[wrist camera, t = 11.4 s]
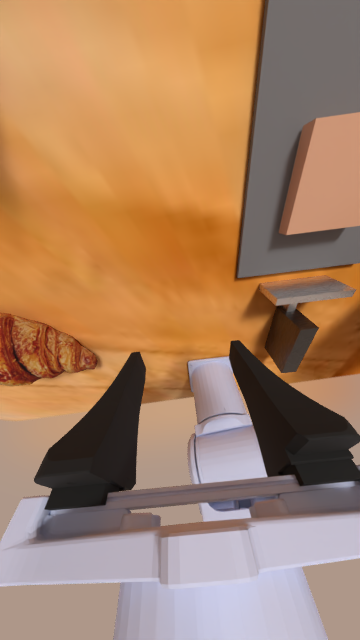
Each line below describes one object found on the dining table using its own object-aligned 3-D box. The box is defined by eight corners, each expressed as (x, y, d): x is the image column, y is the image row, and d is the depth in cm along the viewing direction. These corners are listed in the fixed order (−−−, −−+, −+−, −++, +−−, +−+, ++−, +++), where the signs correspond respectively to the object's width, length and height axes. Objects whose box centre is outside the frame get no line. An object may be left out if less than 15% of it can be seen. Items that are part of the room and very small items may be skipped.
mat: (356, 261, 19) (360, 263, 18) (236, 276, 19) (237, 278, 19) (548, -99, 8) (568, -116, 8) (271, -54, 8) (276, -66, 8)
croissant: (-38, 318, 24) (-84, 372, 21) (-125, 276, 16) (-231, 355, 12) (107, 348, 29) (90, 396, 25) (101, 327, 20) (74, 396, 17)
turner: (294, 343, 27) (317, 369, 23) (246, 349, 27) (260, 375, 23) (325, 275, 20) (365, 294, 16) (259, 283, 20) (283, 304, 16)
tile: (363, 225, 15) (423, 103, 11) (286, 235, 15) (316, 118, 11) (348, 223, 16) (397, 113, 12) (277, 232, 16) (301, 126, 12)
